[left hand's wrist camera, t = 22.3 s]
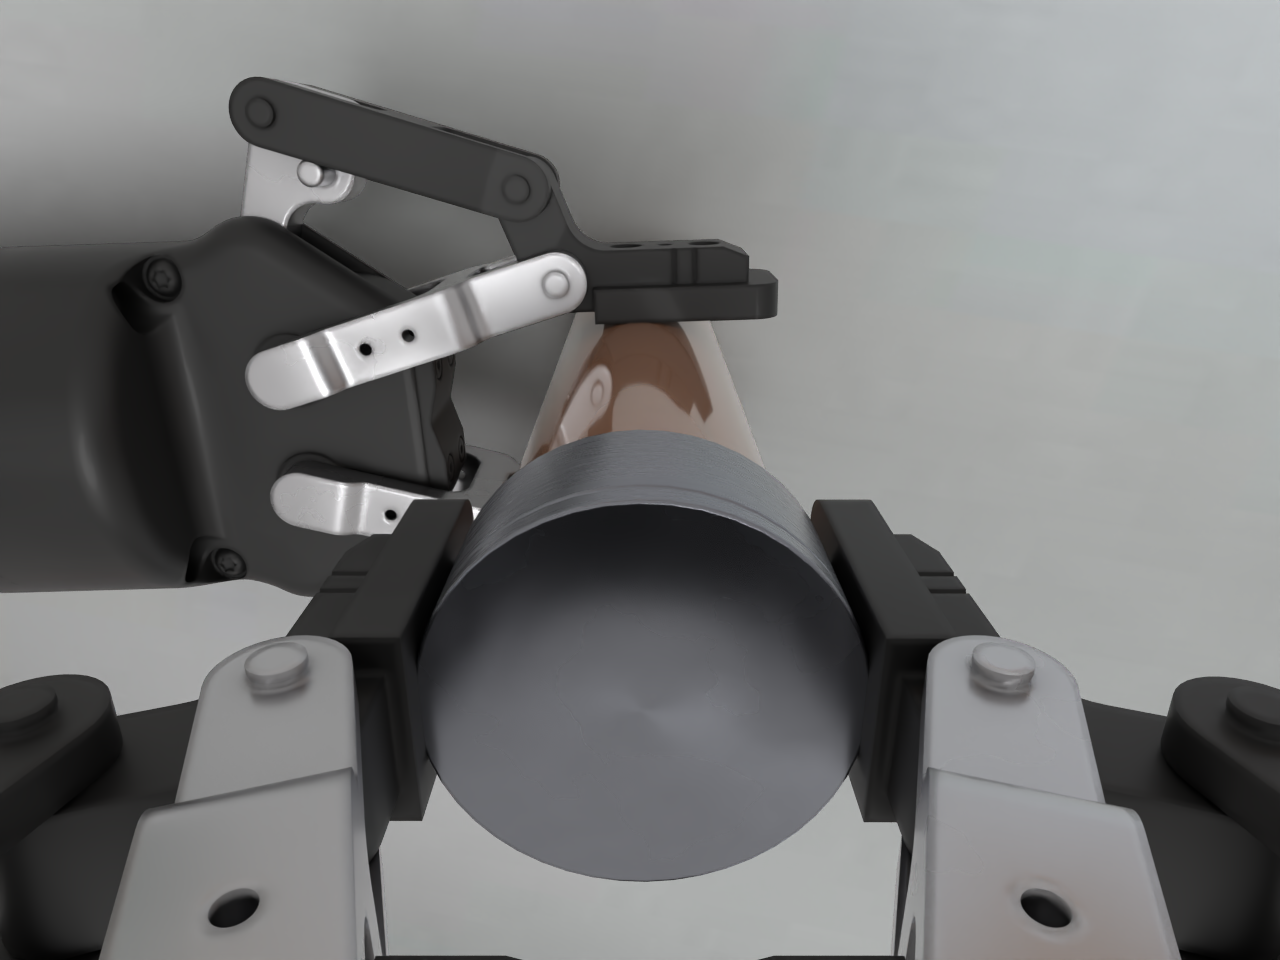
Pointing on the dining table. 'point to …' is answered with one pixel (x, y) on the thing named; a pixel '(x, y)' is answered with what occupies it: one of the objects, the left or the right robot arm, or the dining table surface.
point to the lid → (642, 661)
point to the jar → (641, 386)
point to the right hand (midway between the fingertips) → (765, 399)
